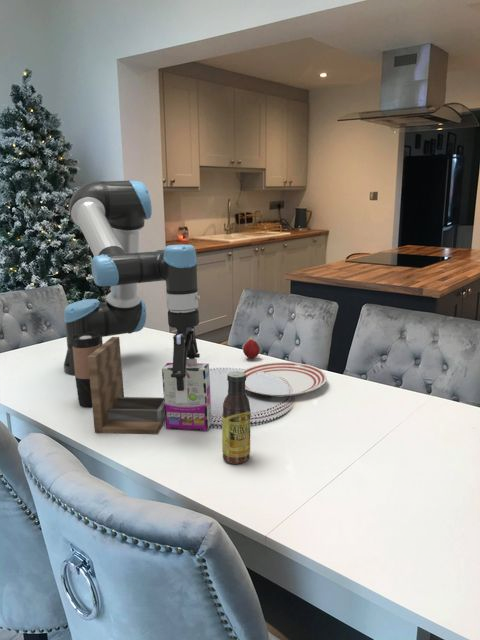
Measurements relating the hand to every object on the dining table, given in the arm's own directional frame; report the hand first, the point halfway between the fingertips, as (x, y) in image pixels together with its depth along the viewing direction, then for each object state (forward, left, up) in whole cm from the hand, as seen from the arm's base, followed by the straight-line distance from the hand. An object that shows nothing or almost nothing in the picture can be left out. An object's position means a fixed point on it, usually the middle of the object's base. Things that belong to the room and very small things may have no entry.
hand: (187, 392), depth 132 cm
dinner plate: (-30, +23, -10) cm, 39 cm away
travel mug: (-14, -31, -10) cm, 36 cm away
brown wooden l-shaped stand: (-4, -15, -9) cm, 18 cm away
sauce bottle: (+16, +14, -10) cm, 23 cm away
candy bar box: (0, 0, -10) cm, 10 cm away
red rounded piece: (-55, +12, -10) cm, 57 cm away
